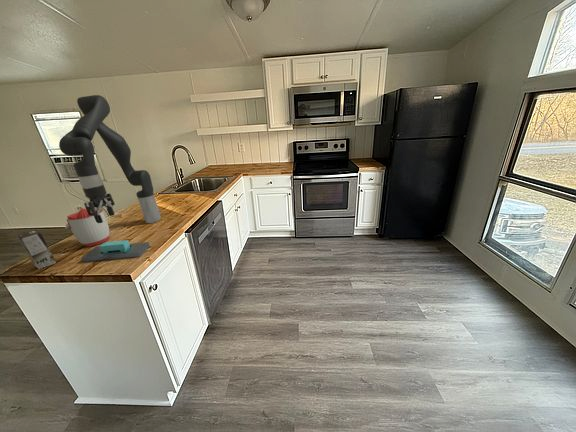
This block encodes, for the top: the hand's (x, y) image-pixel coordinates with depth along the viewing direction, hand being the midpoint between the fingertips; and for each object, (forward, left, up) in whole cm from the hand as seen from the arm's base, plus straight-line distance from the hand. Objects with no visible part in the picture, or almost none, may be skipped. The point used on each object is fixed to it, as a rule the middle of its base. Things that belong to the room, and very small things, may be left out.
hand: (106, 219), depth 108 cm
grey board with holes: (+1, 0, -18) cm, 18 cm away
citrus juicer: (-15, -22, -19) cm, 33 cm away
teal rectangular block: (+1, 0, -18) cm, 18 cm away
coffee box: (+4, -32, -19) cm, 37 cm away
